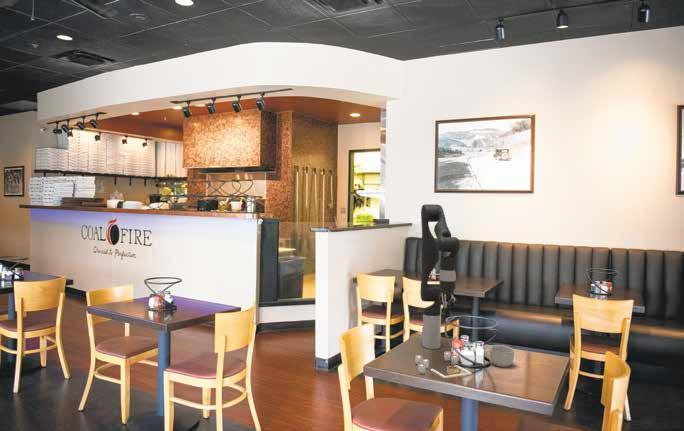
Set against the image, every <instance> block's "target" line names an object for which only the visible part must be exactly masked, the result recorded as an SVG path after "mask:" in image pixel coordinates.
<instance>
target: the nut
mask: <svg viewBox="0 0 684 431" xmlns="http://www.w3.org/2000/svg"><path fill="white" fill-rule="evenodd" d="M446 373H447V375H455V374H460V369H459V368H458V367H456V366H455V365H448V366H446Z"/></svg>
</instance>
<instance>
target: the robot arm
mask: <svg viewBox="0 0 684 431" xmlns="http://www.w3.org/2000/svg"><path fill="white" fill-rule="evenodd" d="M420 214H421V215H420V217H421V221H420V223H421V255H420V256H421V257H420V258H421V276H420V278H421V279H420V290H419V291H420V300H421V301H422V302H426V303H427V302H433V303H432V304H430V305H429V306H426V307H424V308H423V309H422V328H421V333H422V334H421V337H422V338H421V345H422V347H423V348H425V349H430V350H432V349H433V350H436V349H437V350H438V349H440V348H441V332H442V331H441V329H442V328H441V327H442V326H441V325H442V324H441V322H442V321H441V318H442V313H441V312H442V307H443V315H444V316H447V317H448V316H450V314H451V310H450V309H451V308H453V307H454V306H455V304H456V303H457V301H458V298H457V297H454V295H455V293H454V291H455V290H456V287H457V286H456V283H457V282H456V280H457V278H456V276H457V273H456V260H457V258H458V253H459V250H460V247H461V242H460V240H459V238H458V237H455V236H452V233H451V231H450V228H449V227H448V224H447V220H446V215H445V212H444V209H443V207H442V205H441V204H425V203H424V204H423V205H422V206H421V210H420ZM429 223H435V225H434V228H433V232H434V235H435V237H436V238H435V237H434V235H433V233H432V232H431V230H430V229H431V228H430V226H429ZM436 239H437V240H436ZM440 252H441V253H449V255H447V256H443V257H440ZM439 261H440V262H439ZM438 263H440V264H439V266H440V267H439V282H438V283H428V281H429V279H430V276H431V274H432V272H433V270H434V268H436V267H437V266H436V265H437V264H438Z"/></svg>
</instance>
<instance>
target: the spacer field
mask: <svg viewBox="0 0 684 431" xmlns="http://www.w3.org/2000/svg"><path fill="white" fill-rule="evenodd" d="M414 357H415V359H414V360H415V361H414V364H415V365H416V366H418V368H417V372H418V373H417V374H418V375H421V374H422V375H423V374H424V375H426V370H429V369H430V359H429V358H423V355H421V354H416V355H415V356H414ZM457 361H458V356H455V355H453V354H452V352H451V351H448V350H446V351H443V362H450V363H451V366H455V365H456V364H457ZM422 375H421V376H422Z"/></svg>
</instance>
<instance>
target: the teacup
mask: <svg viewBox="0 0 684 431" xmlns="http://www.w3.org/2000/svg"><path fill="white" fill-rule="evenodd" d="M489 348H490V349H489ZM489 348H487V349H484V352H483V354H484V357H485V358H486V359H488V360H489V362H492V363H493V364H494V365H495V366H496V367H501V368H508V367H510V366H511V365H512V364H513V363H514V357H515V354H514V353H515V350H514V349H515V348H512V347H510V346H507V345H502V344H494V345H491V346H490V347H489ZM488 352H489V353H490V356H488V354H487V353H488Z"/></svg>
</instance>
